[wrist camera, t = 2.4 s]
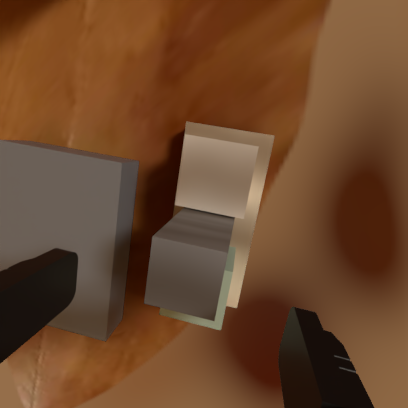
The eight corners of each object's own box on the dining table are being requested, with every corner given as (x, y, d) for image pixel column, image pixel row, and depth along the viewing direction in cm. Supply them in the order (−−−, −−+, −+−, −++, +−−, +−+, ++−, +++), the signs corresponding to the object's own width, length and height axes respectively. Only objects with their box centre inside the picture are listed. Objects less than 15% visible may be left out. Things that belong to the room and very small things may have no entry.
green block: (183, 236, 20) (167, 257, 16) (236, 247, 19) (233, 272, 15) (175, 283, 21) (159, 314, 17) (225, 295, 20) (220, 330, 16)
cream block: (198, 137, 18) (185, 134, 14) (256, 147, 18) (258, 146, 14) (189, 193, 19) (174, 205, 15) (244, 204, 19) (243, 219, 15)
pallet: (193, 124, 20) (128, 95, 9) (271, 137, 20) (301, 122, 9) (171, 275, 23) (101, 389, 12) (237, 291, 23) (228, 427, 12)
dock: (29, 140, 23) (-2, 139, 20) (139, 161, 22) (122, 162, 19) (28, 294, 26) (0, 312, 23) (122, 319, 25) (105, 341, 22)
